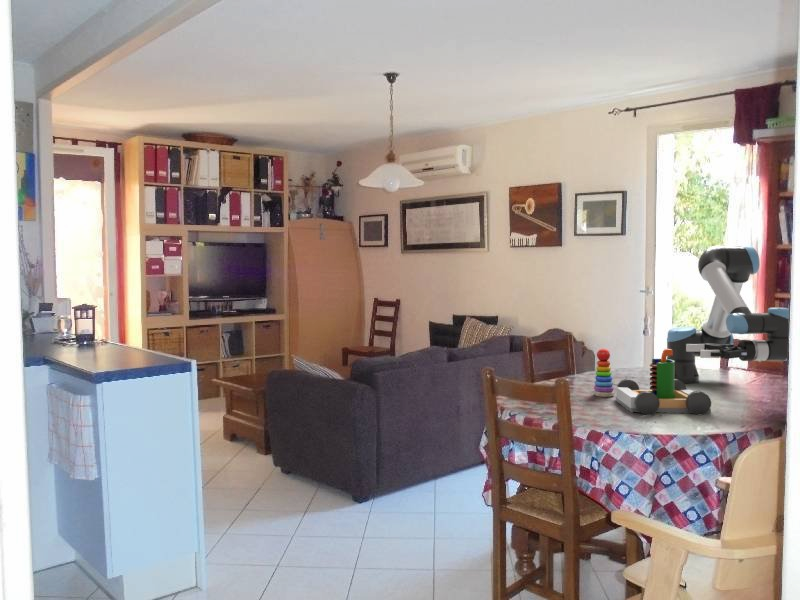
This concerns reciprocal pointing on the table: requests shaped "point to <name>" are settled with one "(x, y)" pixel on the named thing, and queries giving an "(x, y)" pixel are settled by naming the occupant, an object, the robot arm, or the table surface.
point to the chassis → (650, 403)
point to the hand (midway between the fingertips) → (693, 350)
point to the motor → (663, 376)
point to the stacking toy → (603, 375)
